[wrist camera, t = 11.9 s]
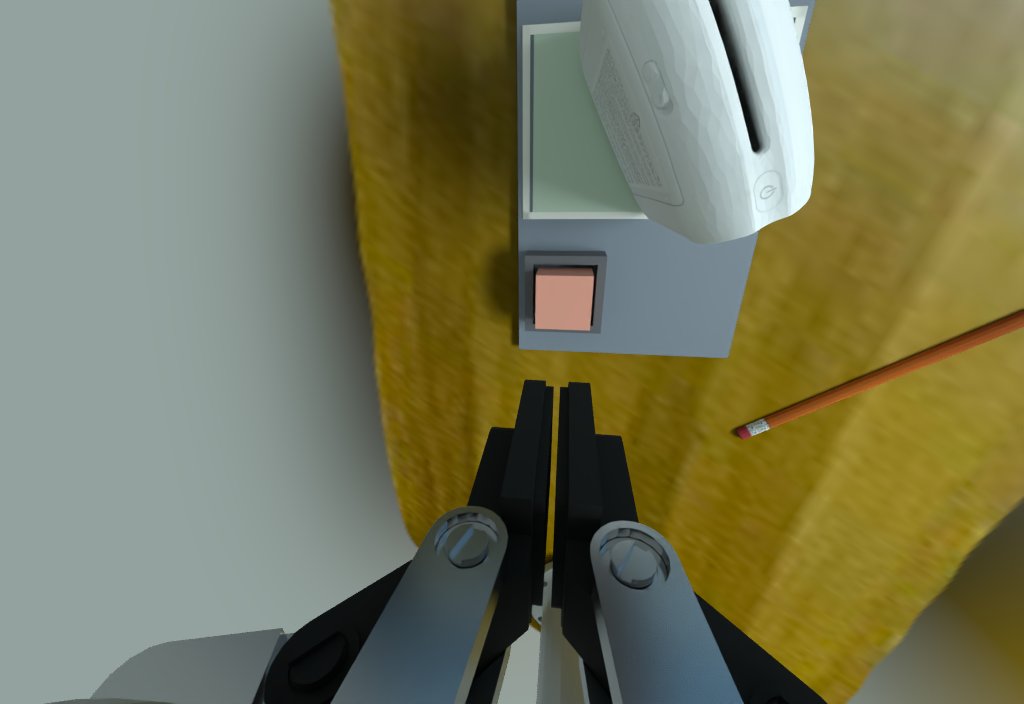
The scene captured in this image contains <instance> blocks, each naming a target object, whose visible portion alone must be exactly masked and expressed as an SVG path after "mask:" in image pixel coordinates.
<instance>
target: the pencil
mask: <svg viewBox="0 0 1024 704" xmlns="http://www.w3.org/2000/svg"><path fill="white" fill-rule="evenodd" d="M1022 327H1024V310H1023V311H1021V312H1018V313H1016V314H1013V315H1011V316H1009V317H1006V318H1004V319H1001V320H999V321H997V322H994V323H992V324H989V325H987V326H984V327H982V328H980V329H977V330H975V331H972V332H970V333H968V334H965V335H963V336H960V337H958V338H955V339H953V340H951V341H948V342H946V343H943V344H941V345H939V346H936V347H934V348H931V349H929V350H926V351H924V352H922V353H919V354H917V355H914V356H912V357H910V358H907V359H905V360H902V361H900V362H897V363H895V364H893V365H890V366H888V367H885V368H883V369H881V370H878V371H876V372H873V373H871V374H868V375H866V376H864V377H861V378H859V379H856V380H854V381H852V382H849V383H847V384H844V385H842V386H840V387H837V388H835V389H832V390H830V391H827V392H825V393H823V394H820V395H818V396H815V397H813V398H811V399H808V400H806V401H803V402H801V403H798V404H796V405H794V406H791V407H789V408H786V409H784V410H782V411H779V412H777V413H774V414H772V415H769V416H767V417H765V418H762V419H760V420H757V421H755V422H753V423H750V424H748V425H745V426H743V427H740V428H738V429H736V431H737V433H738V434H739V436H740V438H741V439H742V440H743V439H746V438H748V437H751V436H753V435H756V434H758V433H761V432H763V431H766V430H768V429H771V428H773V427H776V426H778V425H780V424H783V423H785V422H788V421H790V420H793V419H795V418H798V417H800V416H803V415H805V414H808V413H810V412H813V411H815V410H818V409H820V408H823V407H825V406H828V405H830V404H833V403H835V402H838V401H840V400H843V399H845V398H848V397H850V396H853V395H855V394H858V393H860V392H863V391H865V390H868V389H870V388H873V387H875V386H877V385H880V384H882V383H885V382H887V381H890V380H892V379H895V378H897V377H900V376H902V375H905V374H907V373H910V372H912V371H915V370H917V369H920V368H922V367H925V366H927V365H930V364H932V363H935V362H937V361H940V360H942V359H945V358H947V357H950V356H952V355H955V354H957V353H960V352H962V351H965V350H967V349H970V348H972V347H974V346H977V345H979V344H982V343H984V342H987V341H989V340H992V339H994V338H997V337H999V336H1002V335H1004V334H1007V333H1009V332H1012V331H1014V330H1017V329H1019V328H1022Z"/></svg>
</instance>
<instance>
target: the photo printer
mask: <svg viewBox="0 0 1024 704" xmlns="http://www.w3.org/2000/svg"><path fill="white" fill-rule="evenodd" d="M578 48H579V55H580V60H581V65H582V69H583V73H584V76H585V79H586V82H587V84H588V87H589V90H590V93H591V95H592V98H593V101H594V104H595V106H596V108H597V111H598V114H599V116H600V119H601V121H602V124H603V126H604V129H605V131H606V134H607V136H608V139H609V141H610V143H611V146H612V148H613V150H614V153H615V155H616V158H617V160H618V162H619V165H620V167H621V169H622V172H623V174H624V176H625V178H626V181H627V183H628V185H629V187H630V189H631V191H632V193H633V196H634V198H635V200H636V202H637V203H638V205H639V207H640V208H641V210H642V211H643V213H644V214H645V215H646V217H647V218H648V219H650V220H652V221H654V222H656V223H658V224H660V225H662V226H664V227H666V228H668V229H670V230H672V231H674V232H676V233H677V234H679V235H681V236H683V237H685V238H687V239H689V240H690V241H692V242H694V243H697V244H714V243H721V242H726V241H731V240H734V239H738V238H742V237H745V236H748V235H751V234H753V233H755V232H757V231H758V230H760V229H761V228H762V227H764V226H766V225H768V224H770V223H772V222H774V221H776V220H779V219H782V218H785V217H788V216H790V215H792V214H794V213H795V212H797V211H798V210H799V209H800V208H801V207H802V206H803V205H805V203H806V202H807V201H808V199H809V198H810V194H811V187H812V180H813V169H814V145H813V126H812V118H811V109H810V101H809V94H808V88H807V81H806V76H805V70H804V65H803V60H802V55H801V50H800V45H799V41H798V37H797V32H796V28H795V23H794V19H793V16H792V11H791V7H790V4H789V0H583V3H582V14H581V25H580V34H579V44H578Z"/></svg>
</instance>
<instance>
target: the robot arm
mask: <svg viewBox="0 0 1024 704" xmlns="http://www.w3.org/2000/svg"><path fill="white" fill-rule="evenodd" d="M553 389H554V387H551V386H546V381H541V380H525V381H524V386H523V391H522V395H521V400H520V405H519V410H518V414H517V419H516V424H515V429H514V428H500V427H492V428H491V430H490V432H489V435H488V439H487V442H486V445H485V449H484V452H483V455H482V458H481V462H480V465H479V468H478V472H477V475H476V478H475V482H474V485H473V488H472V491H471V495H470V498H469V501H468V505H467V506H465V507H459V508H456V509H454V510H451V511H449V512H447V513H445V514H444V515H443V516H441V517H440V518H439V519H437V521H436V522H435V523H434V524H433V526H432V527H431V528H430V530H429V531H428V533H427V535H426V537H425V539H424V540H423V542H422V544H421V546H420V547H419V549H418V551H417V553H416V555H415V556H414V558H413V560H410V561H409V562H407V563H406V564H404V565H402V566H401V567H399V568H397V569H396V570H394V571H393V572H391V573H389V574H388V575H386V576H384V577H383V578H381V579H379V580H377V581H376V582H374V583H373V584H371V585H369V586H368V587H366V588H364V589H363V590H361V591H360V592H358V593H356V594H354V595H353V596H351V597H349V598H348V599H346V600H345V601H343V602H341V603H340V604H338V605H336V606H335V607H333V608H331V609H330V610H328V611H326V612H325V613H323V614H321V615H320V616H318V617H317V618H315V619H313V620H312V621H310V622H309V623H307V624H306V625H305V626H303V627H302V628H301V629H299V630H298V631H297V632H295V633H291V634H285V633H284V631H283V629H282V628H280V629H272V630H263V631H256V632H247V633H240V634H231V635H222V636H214V637H206V638H198V639H190V640H181V641H173V642H167V643H163V644H160V645H156V646H153V647H150V648H148V649H146V650H144V651H143V652H141V653H139V654H137V655H136V656H134V657H132V658H130V659H129V660H128V661H126V662H125V663H124V664H123V665H122V666H120V667H119V668H118V669H117V670H115V671H114V672H113V673H112V674H110V676H109V677H108V678H107V679H106V680H105V681H104V683H103V684H102V685H101V686H100V687H99V688H98V689H97V690H96V692H95V693H94V694H93V695H92V697H91V698H90V699H75V700H68V701H60V702H53V703H46V704H497V703H498V699H499V695H500V691H501V687H502V683H503V679H504V675H505V671H506V668H507V663H508V660H509V656H510V649H511V644H512V643H513V642H514V641H516V640H517V639H518V638H519V637H520V636H521V635H523V634H524V633H525V632H526V631H527V630H528V628H529V623H531V618H532V615H533V617H534V619H535V620H536V621H537V622H538V623H539V624H540V625H541V638H540V654H539V670H538V685H537V702H536V704H827V703H826V702H825V701H824V700H823V699H822V698H821V697H820V696H819V695H818V694H817V693H815V692H814V691H813V690H812V689H811V688H809V687H808V686H807V685H806V684H805V683H803V682H802V681H801V680H800V679H799V678H797V677H796V676H795V675H794V674H793V673H791V672H790V671H789V670H788V669H787V668H785V667H784V666H783V665H782V664H781V663H779V662H778V661H777V660H776V659H775V658H773V657H772V656H771V655H770V654H768V653H767V652H766V651H765V650H764V649H762V648H761V647H760V646H759V645H758V644H756V643H755V642H754V641H753V640H752V639H750V638H749V637H748V636H747V635H746V634H744V633H743V632H742V631H741V630H740V629H738V628H737V627H736V626H735V625H734V624H732V623H731V622H730V621H729V620H728V619H726V618H725V617H724V616H723V615H721V614H720V613H719V612H718V611H717V610H715V609H714V608H713V607H712V606H711V605H709V604H708V603H707V602H706V601H705V600H703V599H702V598H701V597H700V596H699V595H697V594H696V593H695V592H694V591H693V589H692V587H691V585H690V583H689V580H688V578H687V576H686V574H685V571H684V569H683V567H682V565H681V563H680V560H679V558H678V556H677V554H676V553H675V551H674V549H673V548H672V546H671V544H670V543H669V542H668V541H667V540H666V539H665V538H664V537H663V536H662V535H661V534H659V533H658V532H656V531H655V530H653V529H651V528H650V527H648V526H645V525H643V524H640V523H639V522H638V517H637V512H636V507H635V502H634V497H633V492H632V487H631V482H630V477H629V472H628V467H627V462H626V457H625V452H624V447H623V442H622V438H621V436H615V435H601V434H595V427H594V417H593V407H592V397H591V387H590V383H579V382H569V384H568V387H560V404H559V426H558V449H557V471H556V496H555V520H554V545H553V561H552V562H550V563H547V564H546V565H545V557H546V540H547V523H548V507H549V490H550V472H551V445H552V417H553Z"/></svg>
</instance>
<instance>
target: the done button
mask: <svg viewBox="0 0 1024 704" xmlns="http://www.w3.org/2000/svg"><path fill="white" fill-rule="evenodd" d="M593 282H594V275H593V271H592V268H560V267H539V268H538V271H537V274H536V313H535V329H559V330H587V331H590V322H591V309H592V295H593Z"/></svg>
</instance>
